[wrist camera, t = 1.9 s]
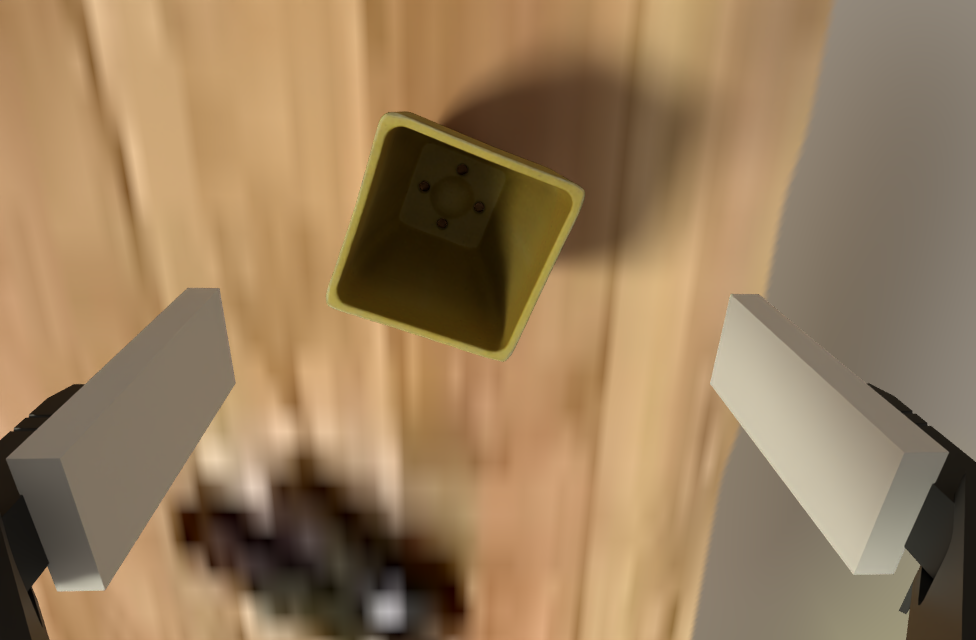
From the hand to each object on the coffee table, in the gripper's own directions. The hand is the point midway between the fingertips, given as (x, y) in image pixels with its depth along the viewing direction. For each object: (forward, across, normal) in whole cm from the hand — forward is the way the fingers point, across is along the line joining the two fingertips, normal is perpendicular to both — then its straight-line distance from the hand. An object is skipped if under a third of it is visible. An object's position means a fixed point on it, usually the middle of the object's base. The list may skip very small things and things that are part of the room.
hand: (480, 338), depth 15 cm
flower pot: (+19, -1, -1) cm, 19 cm away
